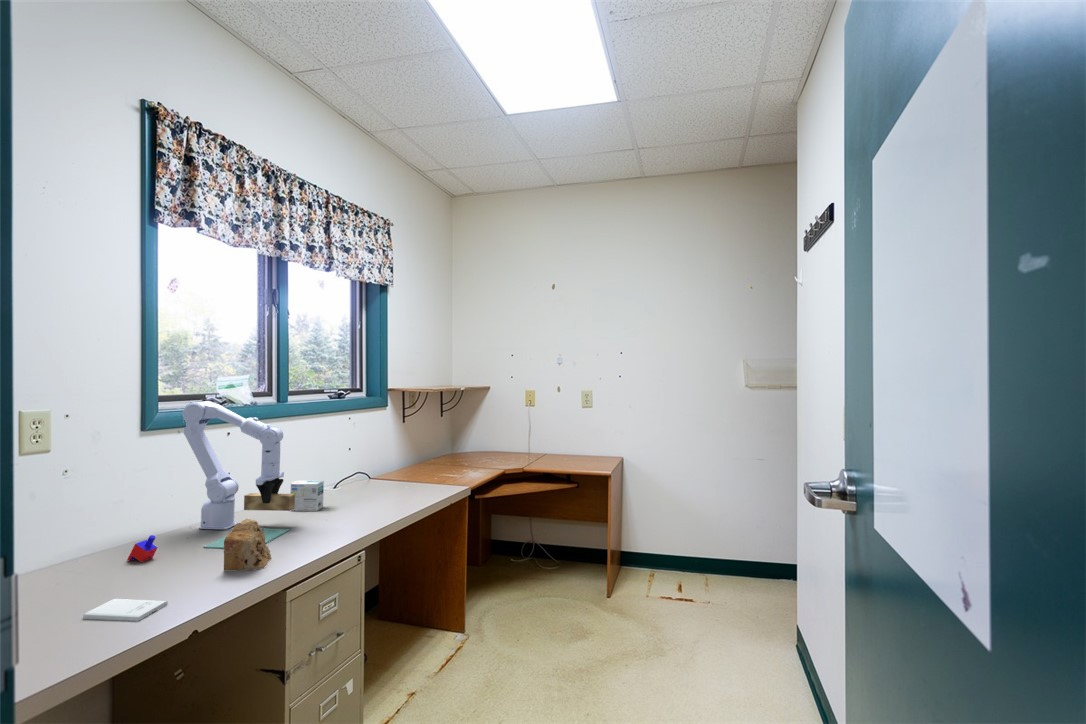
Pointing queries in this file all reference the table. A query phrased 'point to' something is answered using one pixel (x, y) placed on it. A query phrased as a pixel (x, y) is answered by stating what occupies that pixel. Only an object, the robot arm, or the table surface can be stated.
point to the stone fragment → (245, 547)
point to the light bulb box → (308, 495)
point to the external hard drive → (124, 609)
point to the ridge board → (266, 532)
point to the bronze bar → (276, 503)
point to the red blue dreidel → (143, 550)
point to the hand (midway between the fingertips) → (269, 501)
